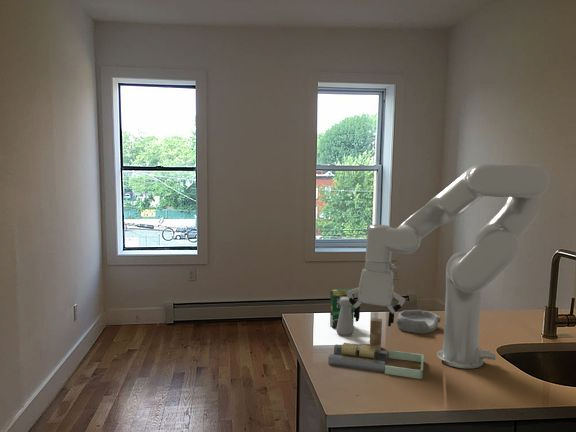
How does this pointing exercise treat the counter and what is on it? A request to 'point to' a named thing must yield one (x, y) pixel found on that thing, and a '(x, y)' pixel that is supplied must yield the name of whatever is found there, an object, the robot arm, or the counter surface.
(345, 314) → the salt shaker
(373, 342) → the tan gable carton
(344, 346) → the tan cube
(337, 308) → the coffee box
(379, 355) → the slot board
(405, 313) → the dish
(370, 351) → the chip
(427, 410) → the counter surface
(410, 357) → the tray
